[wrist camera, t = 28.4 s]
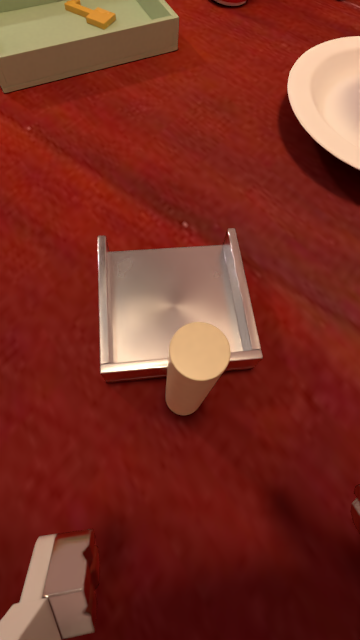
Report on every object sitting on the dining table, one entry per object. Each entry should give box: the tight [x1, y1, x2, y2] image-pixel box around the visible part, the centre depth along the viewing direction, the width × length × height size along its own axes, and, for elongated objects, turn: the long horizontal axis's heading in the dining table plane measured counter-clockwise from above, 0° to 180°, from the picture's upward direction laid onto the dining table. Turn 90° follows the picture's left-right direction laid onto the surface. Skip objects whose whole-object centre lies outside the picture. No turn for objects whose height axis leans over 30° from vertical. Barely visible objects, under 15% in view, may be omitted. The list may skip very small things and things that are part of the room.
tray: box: [0, 0, 179, 93], centre depth 36 cm, size 19×13×3 cm
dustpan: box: [97, 228, 263, 415], centre depth 19 cm, size 13×10×10 cm
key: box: [64, 0, 116, 30], centre depth 37 cm, size 6×2×1 cm, turn 62°
